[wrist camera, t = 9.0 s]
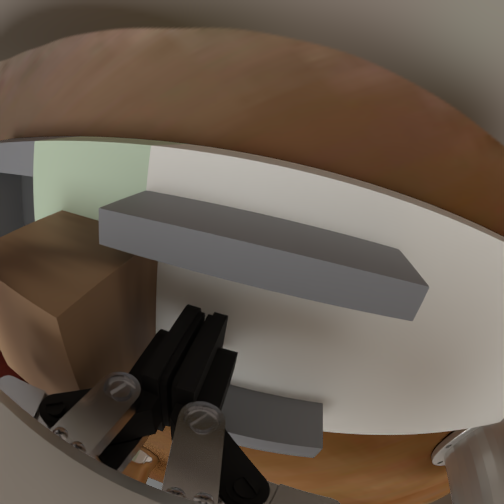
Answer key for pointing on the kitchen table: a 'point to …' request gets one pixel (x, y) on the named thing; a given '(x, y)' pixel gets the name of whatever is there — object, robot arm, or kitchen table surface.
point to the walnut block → (72, 304)
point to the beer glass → (141, 465)
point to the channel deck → (293, 281)
